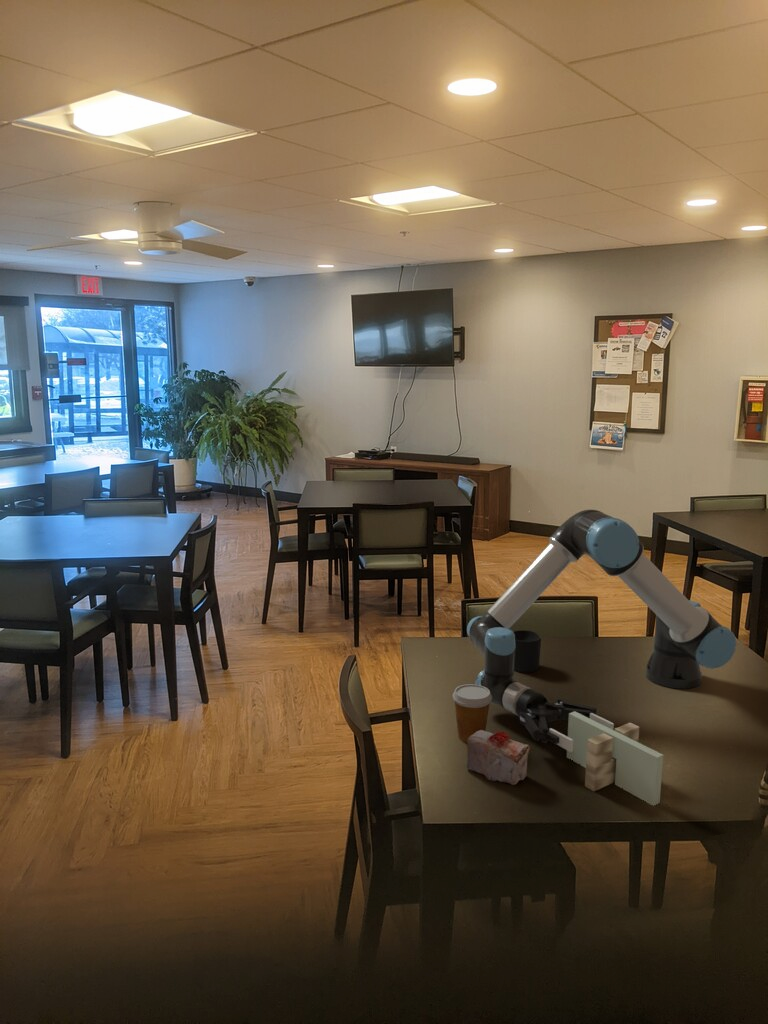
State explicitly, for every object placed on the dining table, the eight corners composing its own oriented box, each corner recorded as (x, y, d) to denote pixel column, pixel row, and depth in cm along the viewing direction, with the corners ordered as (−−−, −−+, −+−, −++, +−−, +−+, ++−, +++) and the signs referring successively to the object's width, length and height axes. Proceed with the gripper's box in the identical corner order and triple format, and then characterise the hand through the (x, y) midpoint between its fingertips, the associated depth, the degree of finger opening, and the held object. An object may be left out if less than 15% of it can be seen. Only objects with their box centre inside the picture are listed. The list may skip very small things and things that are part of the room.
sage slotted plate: (566, 757, 181) (568, 713, 179) (572, 754, 182) (574, 711, 180) (653, 806, 161) (657, 757, 159) (659, 803, 162) (663, 754, 160)
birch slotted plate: (627, 767, 176) (630, 722, 174) (636, 772, 174) (639, 726, 172) (584, 786, 169) (587, 739, 167) (593, 791, 167) (596, 744, 164)
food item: (533, 776, 173) (534, 735, 171) (517, 792, 167) (519, 750, 165) (478, 758, 181) (479, 718, 179) (461, 773, 174) (462, 732, 172)
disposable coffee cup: (489, 748, 185) (490, 701, 182) (449, 744, 187) (450, 698, 184) (492, 729, 194) (493, 685, 192) (454, 726, 196) (454, 681, 193)
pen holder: (544, 665, 234) (546, 633, 232) (532, 676, 226) (534, 643, 224) (515, 659, 239) (516, 628, 237) (502, 669, 231) (503, 637, 229)
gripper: (560, 704, 200) (627, 737, 182) (487, 730, 186) (552, 769, 169) (561, 676, 198) (629, 707, 181) (487, 701, 184) (554, 737, 167)
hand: (592, 737), depth 175 cm, fingers open, 13 cm apart
